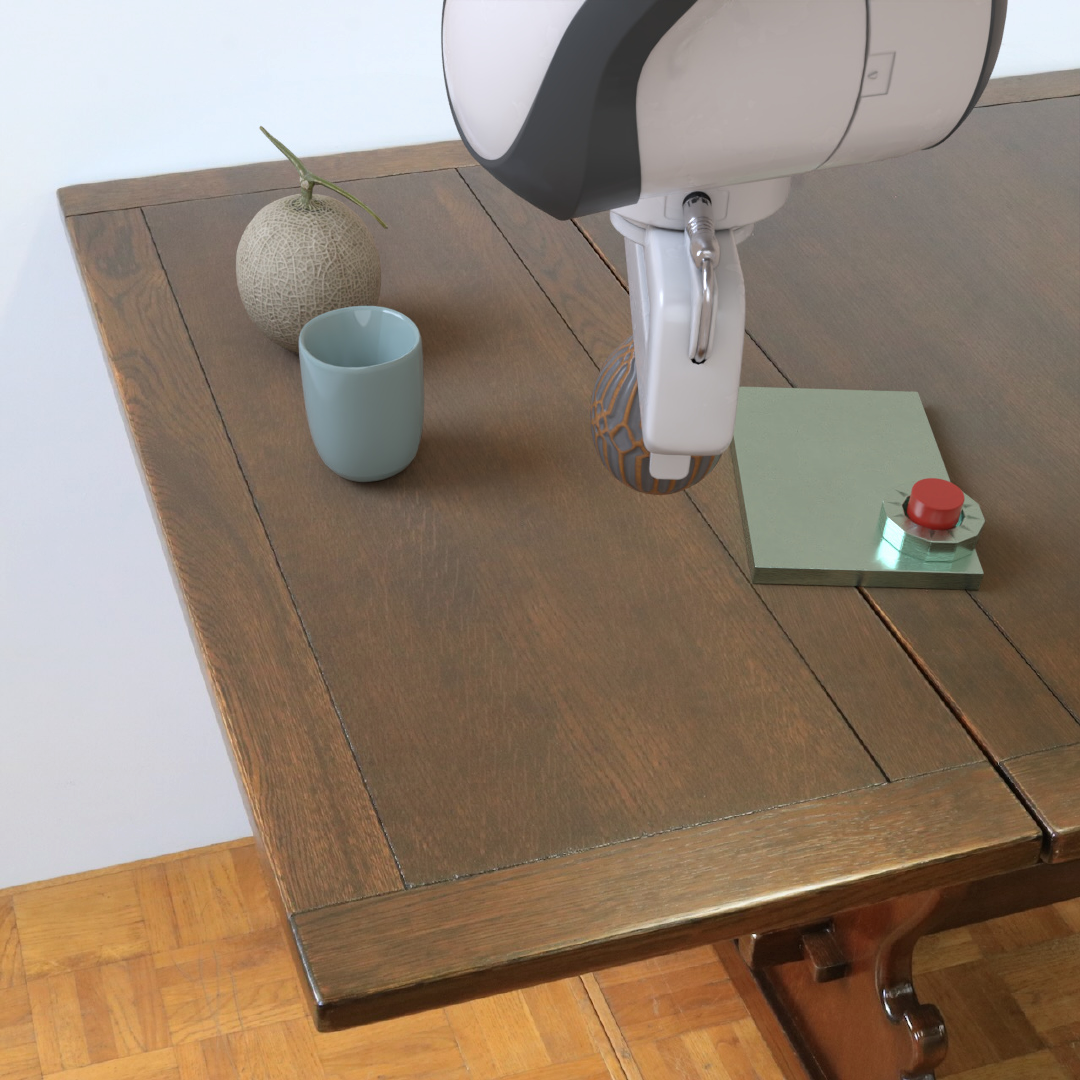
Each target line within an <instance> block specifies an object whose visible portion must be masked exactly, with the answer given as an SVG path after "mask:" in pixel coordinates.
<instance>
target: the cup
mask: <svg viewBox="0 0 1080 1080" xmlns="http://www.w3.org/2000/svg"><path fill="white" fill-rule="evenodd" d="M423 345H424V344H423V340H422V335H421V331H420V329H419V328H418V326H417V325H416V323H415V322H414V321H413V320H412V319H411V318H410V317H408V316H407V315H405V314H404V313H402V312H400V311H397V310H395V309H393V308H389V307H385V306H378V305H377V306H354V307H346V308H341V309H337V310H333V311H329V312H326V313H324V314H321V315H319V316H317V317H315V318H313V319H312V320H310V321H309V322H308V323H307V324H305V326H304V327H303V329H302V330H301V332H300V335H299V341H298V348H299V353H298V358H299V367H300V368H299V370H300V379H301V385H302V393H303V402H304V408H305V409H304V410H305V414H306V420H307V424H308V430H309V433H310V438H311V440H312V443H313V445H314V448H315V450H316V452H317V454H318V456H319V458H320V459H321V461H322V462H323V463H324V464H325V466H326V467H327V468H328V469H329V471H331V472H333V473H334V474H335V475H337V476H339V477H340V478H342V479H344V480H348V481H352V482H358V483H373V482H378V481H383V480H386V479H389V478H392V477H394V476H396V475H398V474H400V473H402V472H403V471H404V470H405V469H406V468H408V467H409V466H410V465H411V463H412V462H413V461H414V459H415V458H416V456H417V454H418V452H419V449H420V446H421V442H422V438H423V431H424V420H425V366H424V346H423Z"/></svg>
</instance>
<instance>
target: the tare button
mask: <svg viewBox="0 0 1080 1080" xmlns="http://www.w3.org/2000/svg"><path fill="white" fill-rule="evenodd" d="M962 491H963V490H962V489H961V488H960V487H959V486H958V485H956V484H955V483H953V482H952V481H950V482H949V481H946V480H943V479H937V478H927V479H922V480H920V481H918V482H916V483H915V484H914V485H913V487H912V491H911V495H910V498H909V502H908V506H907V515H908V517H909V519H910V520H911V521H913V522H914V523H915V524H917V525H920V526H923V527H926V528H929V529H932V530H949V529H952V528H953V527H955V526H956V525H957V523H958V521H959V518H960V514H961V511H962V507H963V504H964V500H965V497H964V494H963V492H964V491H963V492H962Z"/></svg>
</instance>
